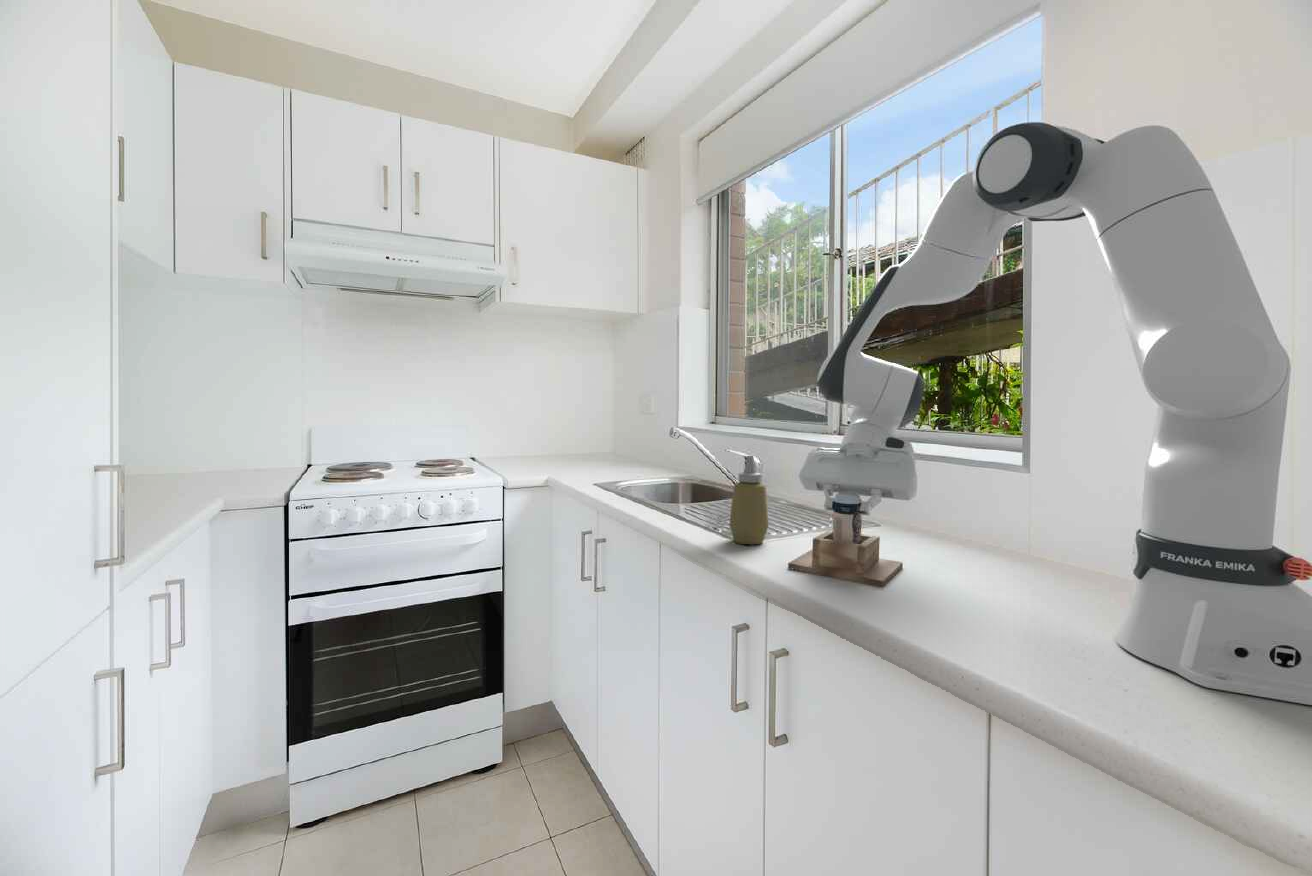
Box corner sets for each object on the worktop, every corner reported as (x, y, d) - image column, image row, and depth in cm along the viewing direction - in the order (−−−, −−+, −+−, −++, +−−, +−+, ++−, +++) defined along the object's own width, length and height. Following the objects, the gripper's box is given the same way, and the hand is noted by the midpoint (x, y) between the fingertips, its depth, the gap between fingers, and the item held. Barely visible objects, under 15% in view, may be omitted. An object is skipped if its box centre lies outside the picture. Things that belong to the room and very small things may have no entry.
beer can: (862, 566, 99) (864, 498, 97) (833, 565, 100) (835, 497, 98) (858, 558, 103) (859, 492, 102) (830, 557, 104) (832, 492, 103)
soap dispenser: (727, 536, 123) (728, 453, 122) (765, 537, 123) (767, 454, 122) (730, 546, 115) (732, 457, 114) (771, 547, 115) (773, 458, 114)
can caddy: (902, 567, 102) (903, 537, 101) (882, 587, 91) (884, 553, 91) (814, 552, 111) (815, 524, 111) (788, 568, 101) (788, 537, 100)
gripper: (807, 436, 111) (785, 493, 104) (920, 442, 99) (905, 507, 92) (814, 457, 115) (794, 513, 108) (924, 466, 103) (910, 529, 96)
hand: (846, 510), depth 100 cm, fingers closed on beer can, 5 cm apart
